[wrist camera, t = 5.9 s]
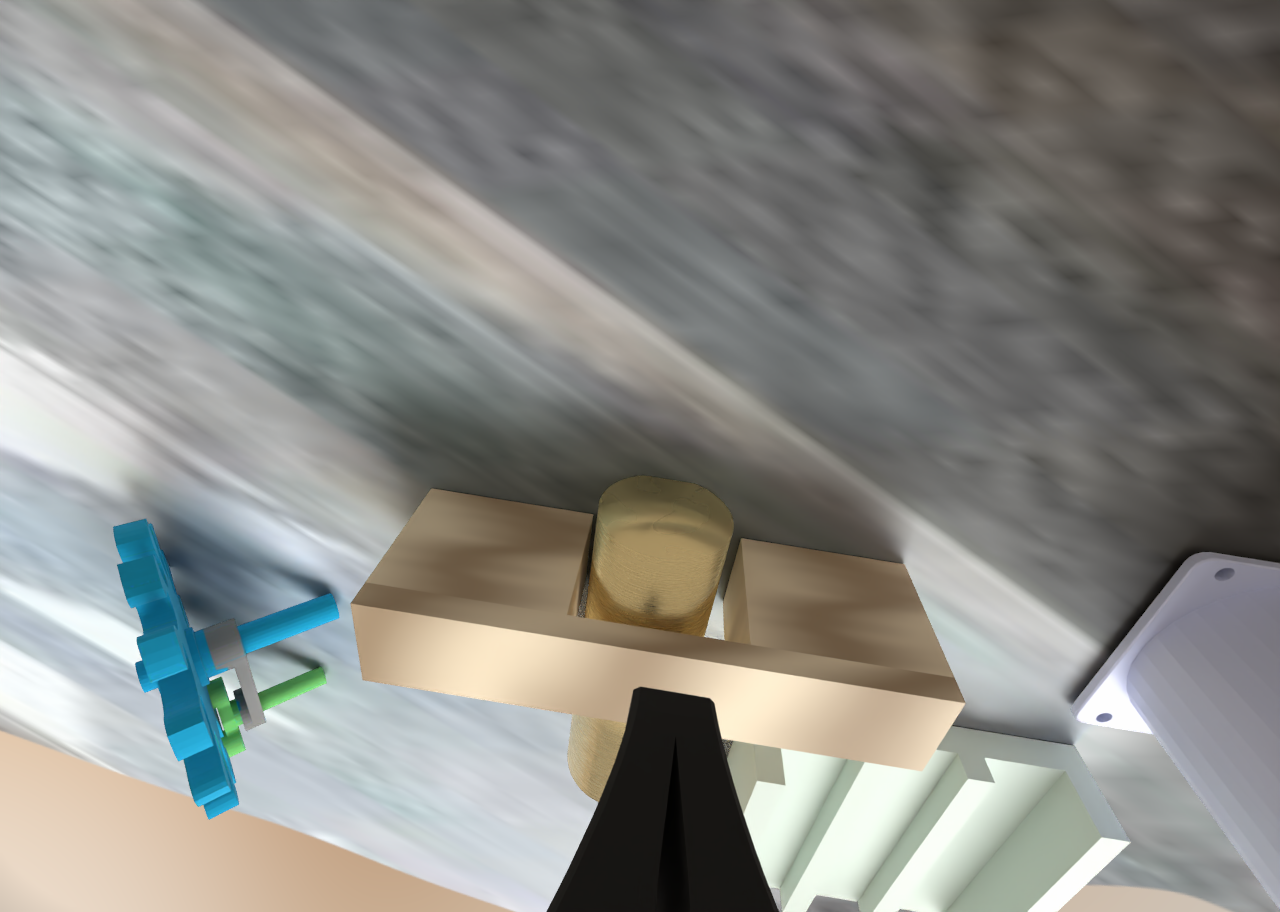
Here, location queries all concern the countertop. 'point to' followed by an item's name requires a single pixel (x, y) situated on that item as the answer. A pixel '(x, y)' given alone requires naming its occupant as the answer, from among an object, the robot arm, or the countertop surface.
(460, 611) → the beam
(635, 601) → the axle
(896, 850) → the pale green slotted tray
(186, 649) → the gear
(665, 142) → the countertop surface
